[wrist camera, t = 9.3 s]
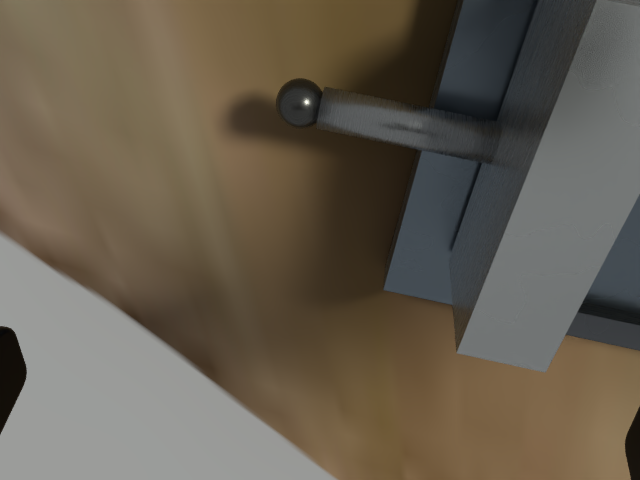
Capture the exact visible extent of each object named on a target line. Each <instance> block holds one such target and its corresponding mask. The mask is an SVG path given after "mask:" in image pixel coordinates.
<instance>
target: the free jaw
mask: <svg viewBox="0 0 640 480" xmlns="http://www.w3.org/2000/svg"><path fill="white" fill-rule="evenodd" d="M276 108H277V112H278V114H279V116H280V118H281V119H282V120H283V121H284V122H285V123H286V124H287V125H289V126H291V127H293V128H298V129H303V128H308V127H311V126H313V125H314V124H315V123H317V129H320V130H325V131H329V132H334V133H339V134H344V135H349V136H354V137H359V138H363V139H368V140H373V141H378V142H383V143H388V144H393V145H397V146H402V147H407V148H412V149H417V150H422V151H426V152H431V153H436V154H441V155H446V156H451V157H456V158H460V159H465V160H470V161H475V162H480V163H482V165H481V168H480V171H479V174H478V177H477V180H476V182H475V185H474V188H473V191H472V194H471V197H470V200H469V203H468V206H467V209H466V211H465V214H464V217H463V220H462V223H461V226H460V229H459V232H458V235H457V238H456V240H455V243H454V246H453V249H452V252H451V255H450V258H449V269H450V281H451V293H452V305H453V317H454V328H455V340H456V352H457V353H459V354H463V355H468V356H472V357H477V358H482V359H486V360H491V361H495V362H500V363H504V364H509V365H514V366H518V367H523V368H527V369H532V370H536V371H541V372H546V370H547V369H548V367H549V365H550V363H551V361H552V359H553V357H554V355H555V353H556V352H557V350H558V348H559V346H560V344H561V342H562V340H563V338H564V336H565V335H566V333H567V331H568V329H569V327H570V325H571V323H572V321H573V319H574V317H575V316H576V314H577V312H578V310H579V308H580V306H581V304H582V302H583V300H584V299H585V297H586V295H587V293H588V291H589V289H590V287H591V285H592V283H593V282H594V280H595V278H596V276H597V274H598V272H599V270H600V268H601V266H602V264H603V263H604V261H605V259H606V257H607V255H608V253H609V251H610V249H611V247H612V246H613V244H614V242H615V240H616V238H617V236H618V234H619V232H620V230H621V229H622V227H623V225H624V223H625V221H626V219H627V217H628V215H629V213H630V211H631V210H632V208H633V206H634V204H635V202H636V200H637V198H638V196H639V194H640V0H538V3H537V6H536V8H535V11H534V14H533V17H532V20H531V23H530V26H529V29H528V32H527V35H526V37H525V40H524V43H523V46H522V49H521V52H520V55H519V58H518V61H517V64H516V66H515V69H514V72H513V75H512V78H511V81H510V84H509V87H508V90H507V93H506V95H505V98H504V101H503V104H502V107H501V110H500V113H499V116H498V119H497V121H492V120H487V119H482V118H477V117H472V116H467V115H462V114H457V113H452V112H447V111H443V110H438V109H433V108H428V107H423V106H418V105H413V104H408V103H403V102H398V101H393V100H388V99H383V98H379V97H374V96H369V95H364V94H359V93H354V92H349V91H344V90H339V89H334V88H329V87H324V90H323V93H322V91H321V89H320V88H319V87H318V86H317V85H316V84H315V83H314V82H312V81H310V80H307V79H303V78H298V79H293V80H291V81H289V82H287V83H286V84H284V85H283V86H282V88H281V89H280V91H279V93H278V95H277V99H276Z"/></svg>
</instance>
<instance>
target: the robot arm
mask: <svg viewBox="0 0 640 480" xmlns="http://www.w3.org/2000/svg"><path fill="white" fill-rule="evenodd" d="M26 374H27V370H26V364H25V361H24V358H23V355H22V352H21V349H20V346H19V343H18V340H17V337H16V334H15V332H14V331H13V330H12V329H11V328H8V327H3V326H0V434H1V432H2V430H3V428H4V426H5V423H6V421H7V419H8V417H9V415H10V413H11V411H12V409H13V407H14V405H15V403H16V400H17V398H18V396H19V394H20V392H21V390H22V388H23V386H24V382H25V380H26ZM625 452H626V457H627V462H628V467H629V471H630V476H631V480H640V407H639V409H638V411H637V413H636V416H635V418H634V420H633V422H632V424H631V426H630V429H629V431H628V433H627V436H626V440H625Z"/></svg>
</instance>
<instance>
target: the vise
mask: <svg viewBox="0 0 640 480" xmlns="http://www.w3.org/2000/svg"><path fill="white" fill-rule="evenodd" d="M537 3H538V0H458V1H457V5H456V9H455V12H454V16H453V20H452V23H451V27H450V31H449V34H448V38H447V42H446V45H445V49H444V53H443V56H442V60H441V64H440V67H439V71H438V75H437V78H436V82H435V86H434V89H433V93H432V97H431V100H430V104H429V108H433V109H438V110H443V111H447V112H452V113H457V114H462V115H467V116H472V117H477V118H482V119H487V120H492V121H497V119H498V116H499V113H500V110H501V107H502V104H503V101H504V98H505V95H506V93H507V90H508V87H509V84H510V81H511V78H512V75H513V72H514V69H515V66H516V64H517V61H518V58H519V55H520V52H521V49H522V46H523V43H524V40H525V37H526V35H527V32H528V29H529V26H530V23H531V20H532V17H533V14H534V11H535V8H536V6H537ZM481 165H482V163H480V162H475V161H470V160H465V159H460V158H456V157H451V156H446V155H441V154H436V153H431V152H426V151H422V150H417V152H416V156H415V159H414V163H413V167H412V170H411V174H410V178H409V181H408V185H407V189H406V192H405V196H404V200H403V203H402V207H401V211H400V214H399V218H398V222H397V225H396V229H395V233H394V236H393V240H392V244H391V247H390V251H389V255H388V258H387V262H386V266H385V276H384V288H383V290H386V291H390V292H395V293H400V294H404V295H409V296H414V297H418V298H423V299H428V300H432V301H437V302H441V303H446V304H451V305H452V293H451V281H450V269H449V258H450V255H451V252H452V249H453V246H454V243H455V240H456V238H457V235H458V232H459V229H460V226H461V223H462V220H463V217H464V214H465V211H466V209H467V206H468V203H469V200H470V197H471V194H472V191H473V188H474V185H475V182H476V180H477V177H478V174H479V171H480V168H481ZM566 335H570V336H575V337H580V338H584V339H589V340H594V341H598V342H603V343H607V344H612V345H617V346H621V347H626V348H631V349H635V350H640V194H639V196H638V198H637V200H636V202H635V204H634V206H633V208H632V210H631V211H630V213H629V215H628V217H627V219H626V221H625V223H624V225H623V227H622V229H621V230H620V232H619V234H618V236H617V238H616V240H615V242H614V244H613V246H612V247H611V249H610V251H609V253H608V255H607V257H606V259H605V261H604V263H603V264H602V266H601V268H600V270H599V272H598V274H597V276H596V278H595V280H594V282H593V283H592V285H591V287H590V289H589V291H588V293H587V295H586V297H585V299H584V300H583V302H582V304H581V306H580V308H579V310H578V312H577V314H576V316H575V317H574V319H573V321H572V323H571V325H570V327H569V329H568V331H567V333H566Z"/></svg>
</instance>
